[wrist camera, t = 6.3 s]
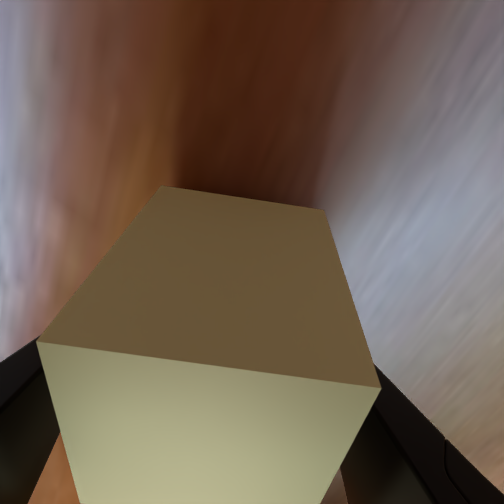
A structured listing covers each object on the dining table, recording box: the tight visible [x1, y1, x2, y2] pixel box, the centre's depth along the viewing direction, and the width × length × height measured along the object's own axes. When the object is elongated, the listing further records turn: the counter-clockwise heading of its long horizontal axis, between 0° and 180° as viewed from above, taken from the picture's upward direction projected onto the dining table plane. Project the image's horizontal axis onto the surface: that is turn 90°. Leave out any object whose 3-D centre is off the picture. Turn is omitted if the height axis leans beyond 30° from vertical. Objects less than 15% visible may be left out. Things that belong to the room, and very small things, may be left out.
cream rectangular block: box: [36, 185, 381, 504], centre depth 9 cm, size 5×5×7 cm
